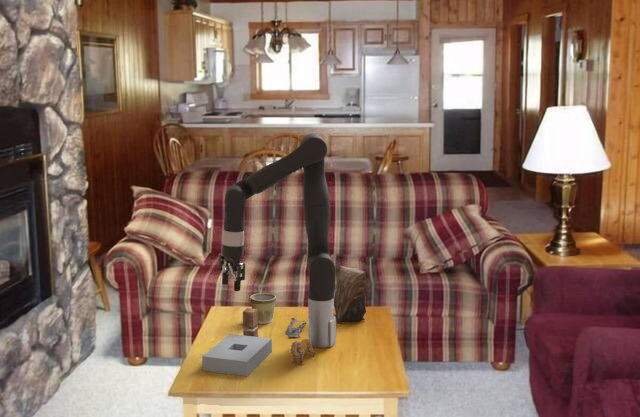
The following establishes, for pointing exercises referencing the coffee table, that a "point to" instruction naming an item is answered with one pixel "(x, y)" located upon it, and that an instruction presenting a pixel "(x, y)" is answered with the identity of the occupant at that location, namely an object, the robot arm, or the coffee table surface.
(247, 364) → the grey rectangular block
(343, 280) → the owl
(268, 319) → the ceramic cup
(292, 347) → the lion figurine
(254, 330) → the walnut peg
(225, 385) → the coffee table surface
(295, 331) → the driftwood
